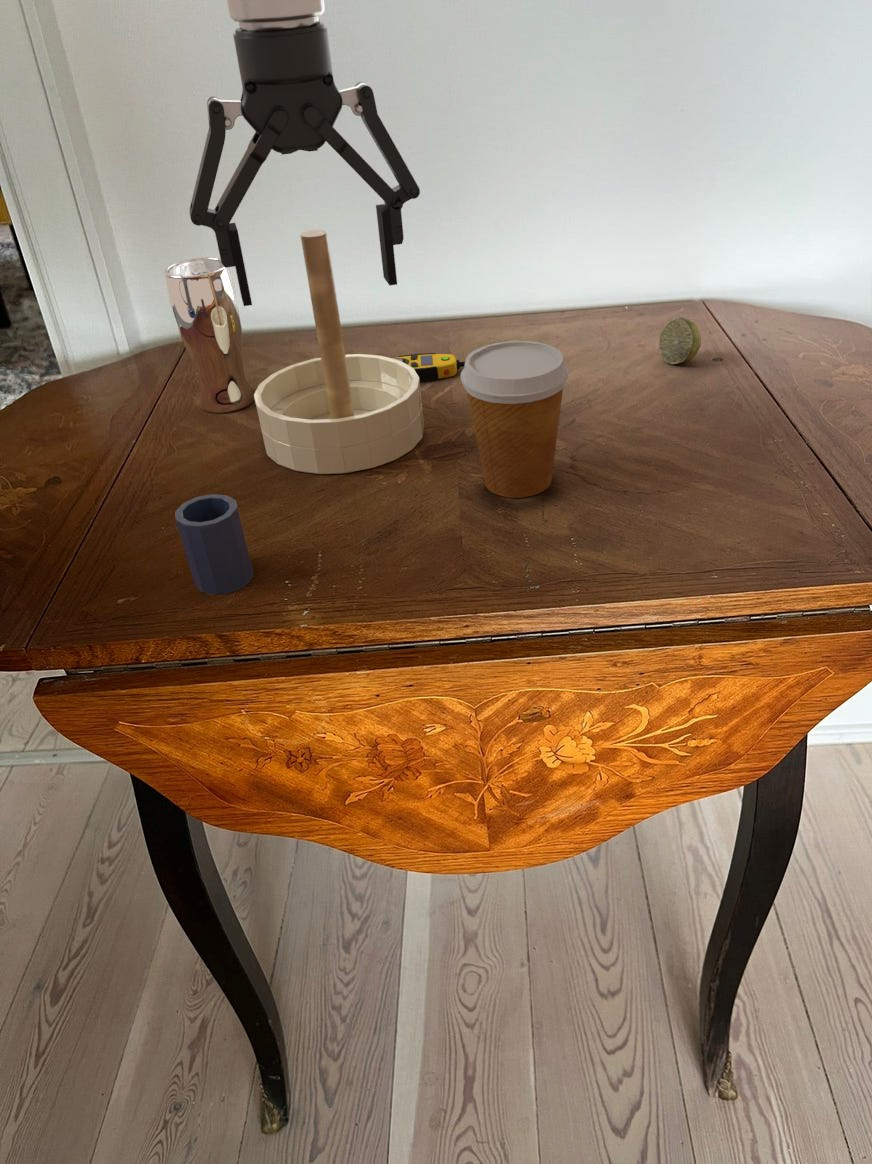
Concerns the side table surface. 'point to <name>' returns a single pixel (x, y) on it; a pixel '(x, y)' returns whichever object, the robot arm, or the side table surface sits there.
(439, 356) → the yellow handheld meter
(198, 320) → the beer glass
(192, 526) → the holder
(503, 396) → the disposable coffee cup
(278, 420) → the bowl
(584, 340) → the side table surface
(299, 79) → the robot arm
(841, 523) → the side table surface
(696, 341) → the lime
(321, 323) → the stick
